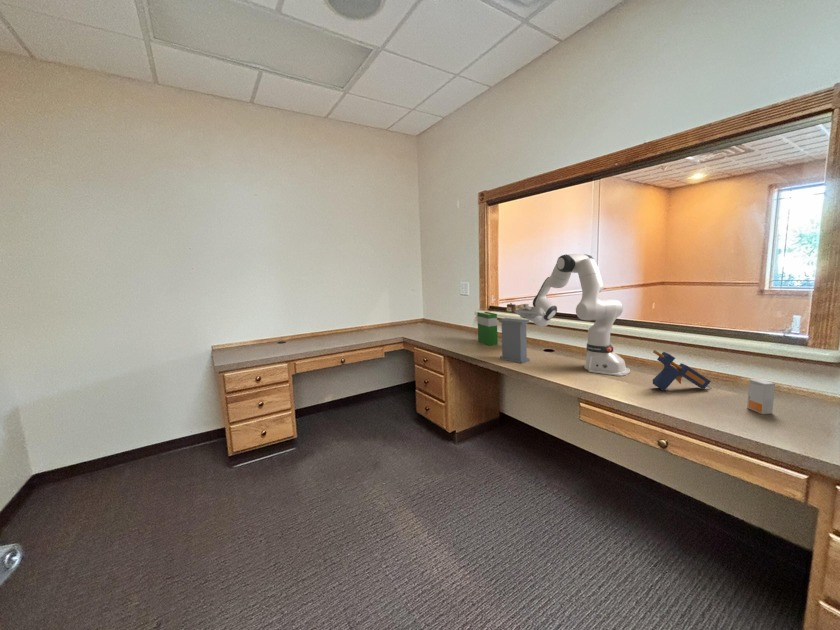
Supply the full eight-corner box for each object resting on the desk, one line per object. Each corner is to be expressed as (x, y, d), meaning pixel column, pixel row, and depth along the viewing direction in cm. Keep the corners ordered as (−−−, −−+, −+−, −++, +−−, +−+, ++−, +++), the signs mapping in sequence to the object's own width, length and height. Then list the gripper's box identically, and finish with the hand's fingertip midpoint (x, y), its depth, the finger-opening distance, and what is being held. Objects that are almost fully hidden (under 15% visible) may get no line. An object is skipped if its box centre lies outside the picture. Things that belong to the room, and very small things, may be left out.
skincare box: (746, 408, 135) (748, 378, 133) (756, 407, 135) (758, 378, 134) (762, 414, 129) (765, 384, 127) (773, 413, 129) (775, 383, 128)
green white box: (478, 341, 278) (477, 312, 275) (486, 340, 280) (485, 311, 277) (489, 346, 262) (488, 314, 258) (497, 344, 264) (496, 313, 261)
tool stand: (529, 360, 216) (529, 320, 213) (522, 363, 211) (521, 321, 208) (507, 356, 229) (506, 318, 226) (499, 358, 224) (498, 319, 221)
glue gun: (695, 411, 157) (718, 386, 154) (641, 376, 155) (663, 349, 152) (685, 405, 163) (707, 380, 160) (633, 371, 161) (655, 345, 158)
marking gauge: (523, 307, 227) (523, 300, 227) (530, 307, 224) (530, 300, 223) (505, 311, 215) (504, 303, 214) (511, 311, 211) (511, 303, 210)
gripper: (546, 319, 222) (535, 311, 214) (518, 317, 238) (508, 309, 229) (548, 310, 223) (538, 302, 215) (521, 308, 239) (510, 300, 231)
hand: (522, 305), depth 222 cm, fingers closed on marking gauge, 2 cm apart
